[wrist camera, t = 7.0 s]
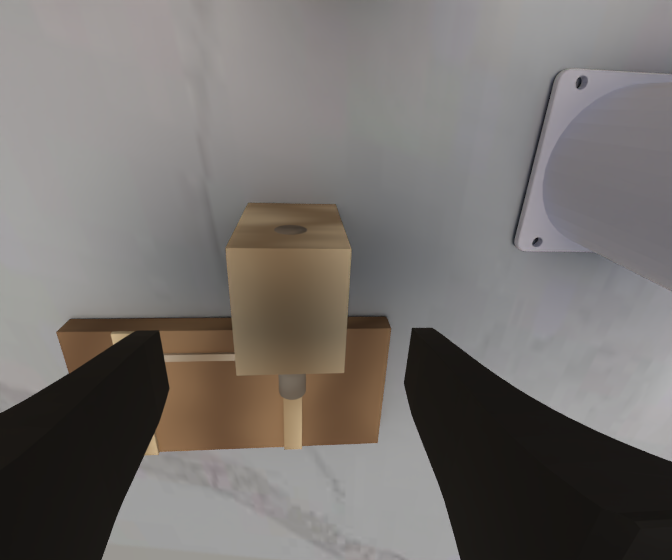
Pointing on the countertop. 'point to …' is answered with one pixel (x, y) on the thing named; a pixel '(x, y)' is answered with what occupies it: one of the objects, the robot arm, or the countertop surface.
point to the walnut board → (246, 386)
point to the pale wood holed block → (289, 292)
